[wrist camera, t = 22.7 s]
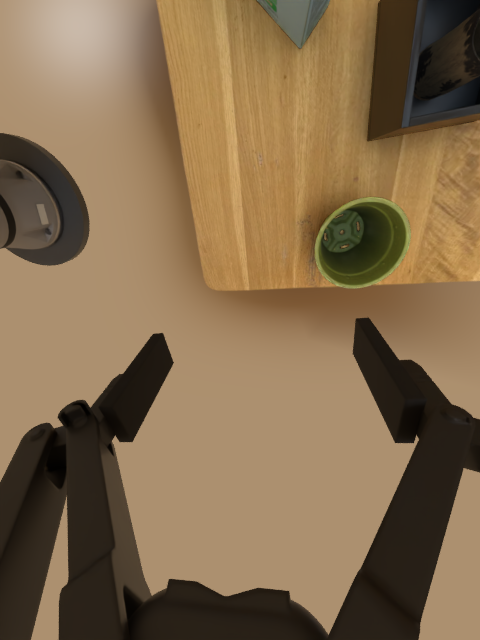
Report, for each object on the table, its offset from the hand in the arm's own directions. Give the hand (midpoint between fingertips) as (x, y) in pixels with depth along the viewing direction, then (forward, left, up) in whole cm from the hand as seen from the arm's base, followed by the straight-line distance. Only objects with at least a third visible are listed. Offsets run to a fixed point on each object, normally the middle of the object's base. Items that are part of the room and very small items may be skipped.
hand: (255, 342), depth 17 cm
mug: (+24, +19, -31) cm, 44 cm away
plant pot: (+13, 0, -32) cm, 34 cm away
